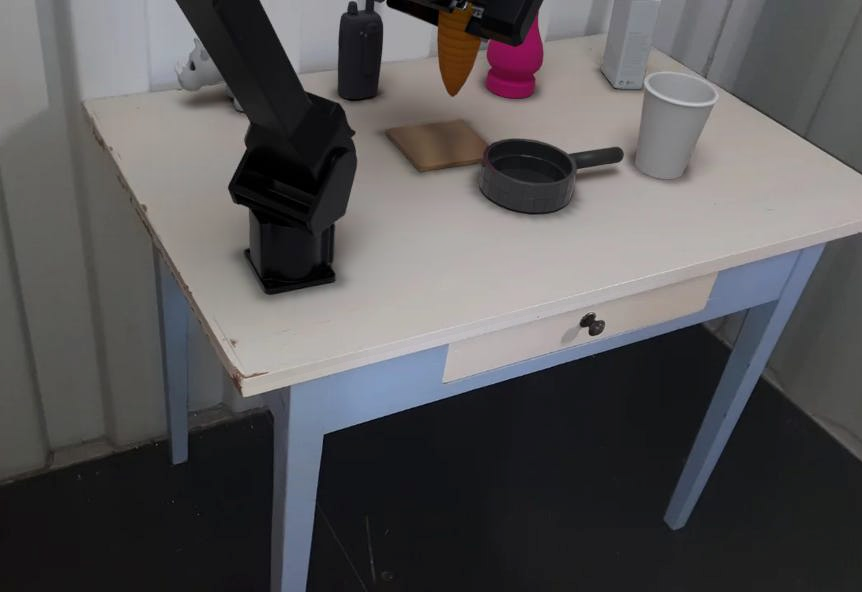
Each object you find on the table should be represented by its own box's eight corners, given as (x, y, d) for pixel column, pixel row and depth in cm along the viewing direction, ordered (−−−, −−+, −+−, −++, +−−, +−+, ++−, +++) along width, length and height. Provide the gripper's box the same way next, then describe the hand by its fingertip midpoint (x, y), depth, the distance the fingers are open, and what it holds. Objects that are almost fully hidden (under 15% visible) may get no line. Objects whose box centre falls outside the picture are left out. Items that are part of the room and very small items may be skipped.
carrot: (478, 107, 99) (499, -36, 90) (432, 105, 98) (449, -40, 88) (470, 87, 102) (490, -52, 93) (426, 85, 101) (442, -56, 92)
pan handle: (567, 174, 100) (570, 159, 99) (558, 166, 101) (561, 151, 100) (625, 164, 103) (628, 150, 102) (615, 157, 104) (619, 142, 103)
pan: (508, 221, 94) (513, 191, 92) (462, 173, 100) (466, 144, 98) (588, 206, 98) (595, 177, 96) (539, 161, 105) (545, 133, 103)
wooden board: (419, 172, 99) (419, 167, 99) (384, 133, 105) (385, 128, 105) (499, 160, 104) (499, 155, 103) (461, 123, 110) (462, 119, 109)
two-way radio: (370, 85, 114) (378, -38, 105) (389, 100, 112) (399, -25, 102) (331, 92, 111) (335, -35, 102) (349, 107, 109) (355, -21, 100)
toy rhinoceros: (169, 94, 106) (163, 21, 100) (272, 86, 111) (271, 16, 105) (184, 122, 101) (178, 47, 96) (291, 113, 106) (291, 41, 101)
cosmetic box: (642, 90, 125) (665, 1, 117) (611, 89, 123) (633, -1, 116) (627, 70, 129) (648, -17, 122) (597, 69, 128) (616, -19, 120)
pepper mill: (475, 76, 121) (496, -85, 108) (526, 76, 123) (553, -82, 111) (491, 101, 116) (516, -65, 103) (545, 100, 118) (575, -62, 105)
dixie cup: (640, 142, 112) (661, 64, 106) (704, 166, 109) (729, 87, 103) (612, 167, 106) (632, 85, 100) (679, 193, 103) (704, 111, 97)
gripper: (556, -110, 80) (578, -11, 95) (374, -159, 85) (422, -58, 100) (502, 1, 79) (533, 84, 94) (322, -55, 84) (378, 31, 99)
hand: (466, 31), depth 97 cm, fingers closed on carrot, 5 cm apart
